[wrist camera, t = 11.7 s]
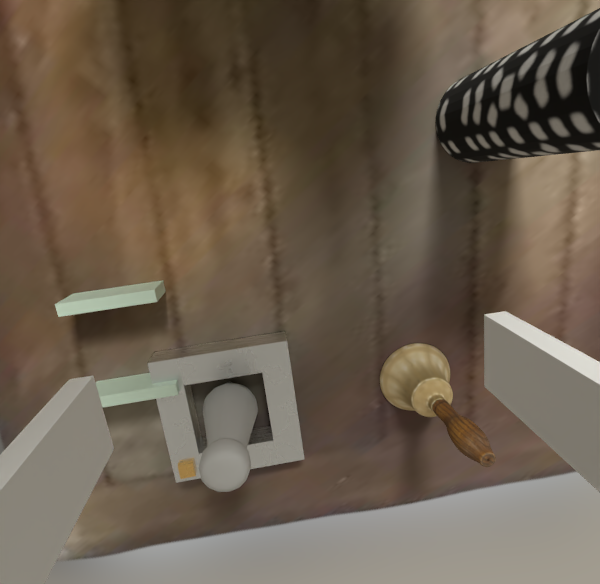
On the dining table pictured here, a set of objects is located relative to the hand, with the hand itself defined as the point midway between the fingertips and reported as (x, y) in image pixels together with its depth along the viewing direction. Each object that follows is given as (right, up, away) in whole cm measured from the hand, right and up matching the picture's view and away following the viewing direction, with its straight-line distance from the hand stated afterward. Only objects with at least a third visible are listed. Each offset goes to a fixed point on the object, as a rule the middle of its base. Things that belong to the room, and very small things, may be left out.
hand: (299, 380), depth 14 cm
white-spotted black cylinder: (+18, +20, +29) cm, 39 cm away
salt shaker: (-8, -9, +33) cm, 35 cm away
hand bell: (+13, -7, +35) cm, 38 cm away
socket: (-8, -9, +33) cm, 35 cm away
